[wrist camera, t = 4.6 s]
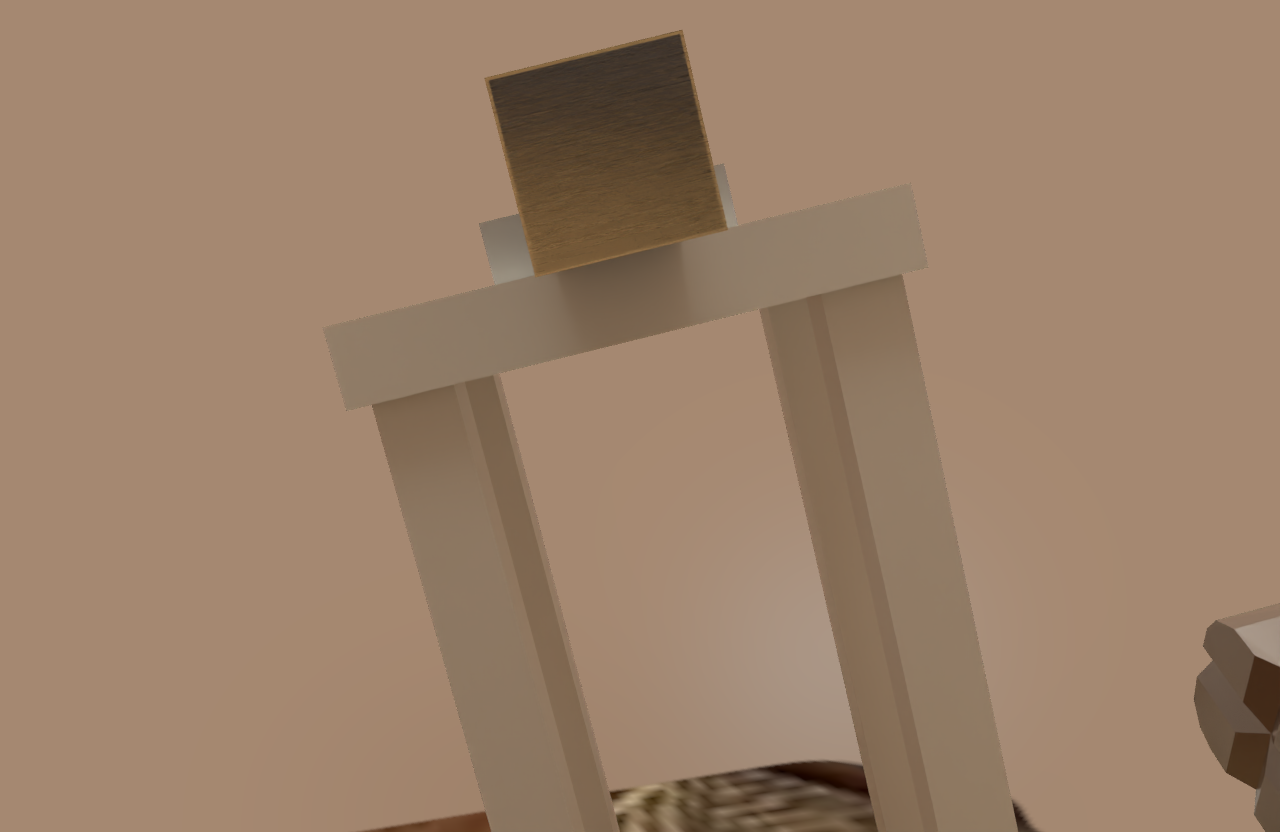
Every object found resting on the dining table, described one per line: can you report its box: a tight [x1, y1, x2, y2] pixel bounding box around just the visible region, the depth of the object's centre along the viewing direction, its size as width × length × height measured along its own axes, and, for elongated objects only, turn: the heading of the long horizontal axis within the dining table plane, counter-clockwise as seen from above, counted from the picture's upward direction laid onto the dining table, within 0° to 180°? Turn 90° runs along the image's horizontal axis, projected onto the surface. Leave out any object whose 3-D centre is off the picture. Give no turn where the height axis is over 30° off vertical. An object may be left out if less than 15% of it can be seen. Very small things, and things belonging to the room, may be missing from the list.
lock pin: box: [485, 30, 728, 277], centre depth 29 cm, size 3×24×3 cm, turn 3°
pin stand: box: [323, 164, 1018, 832], centre depth 34 cm, size 14×12×28 cm
